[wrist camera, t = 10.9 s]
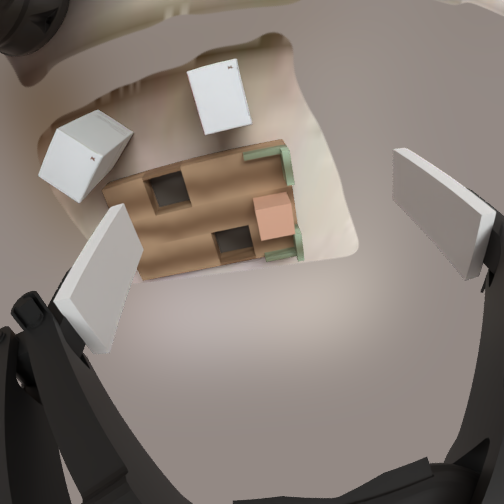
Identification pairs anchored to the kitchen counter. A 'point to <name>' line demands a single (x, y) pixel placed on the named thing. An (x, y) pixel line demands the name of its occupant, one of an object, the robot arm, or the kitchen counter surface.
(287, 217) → the block
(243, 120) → the small box
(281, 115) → the kitchen counter surface
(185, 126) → the kitchen counter surface
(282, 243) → the tray
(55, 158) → the supplement box
